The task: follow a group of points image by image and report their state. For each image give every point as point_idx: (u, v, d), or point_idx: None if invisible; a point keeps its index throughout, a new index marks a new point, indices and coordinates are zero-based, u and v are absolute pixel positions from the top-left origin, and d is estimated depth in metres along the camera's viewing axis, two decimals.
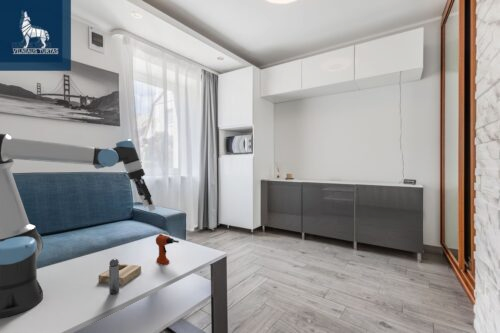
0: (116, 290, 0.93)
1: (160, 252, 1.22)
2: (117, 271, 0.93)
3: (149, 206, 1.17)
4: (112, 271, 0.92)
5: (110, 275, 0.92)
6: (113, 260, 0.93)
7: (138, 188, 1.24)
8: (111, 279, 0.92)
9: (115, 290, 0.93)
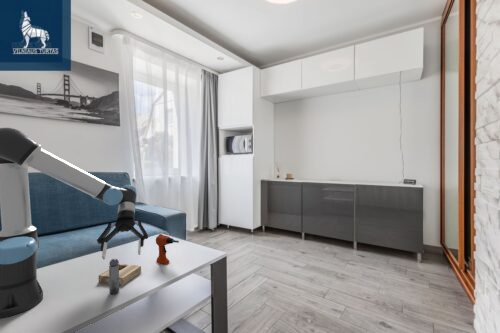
0: (116, 290, 0.93)
1: (160, 252, 1.22)
2: (117, 271, 0.93)
3: (140, 247, 1.05)
4: (112, 271, 0.92)
5: (110, 275, 0.92)
6: (113, 260, 0.93)
7: (115, 231, 1.07)
8: (111, 279, 0.92)
9: (115, 290, 0.93)
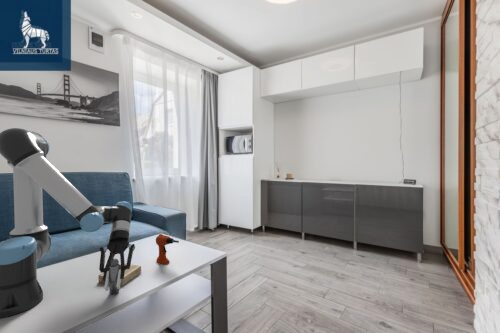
0: (116, 290, 0.93)
1: (160, 252, 1.22)
2: (117, 271, 0.93)
3: (119, 280, 0.92)
4: (112, 271, 0.92)
5: (110, 275, 0.92)
6: (113, 260, 0.93)
7: (112, 255, 0.97)
8: (111, 279, 0.92)
9: (115, 290, 0.93)
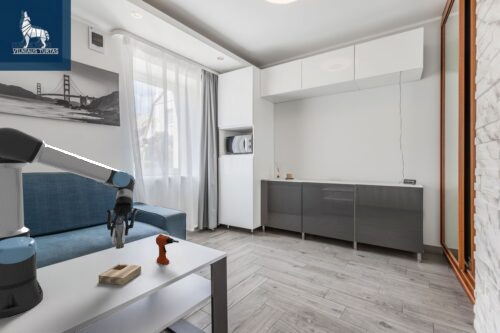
0: (121, 245, 1.09)
1: (160, 252, 1.22)
2: (122, 228, 1.09)
3: (124, 236, 1.08)
4: (118, 228, 1.08)
5: (116, 231, 1.08)
6: (119, 219, 1.09)
7: (118, 216, 1.13)
8: (117, 235, 1.08)
9: (121, 245, 1.09)
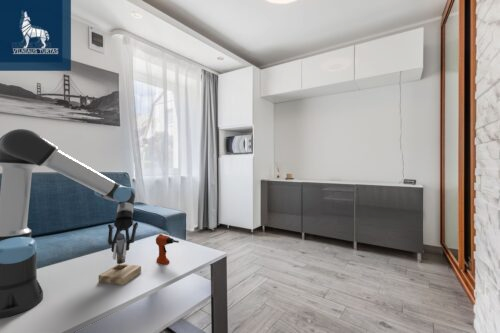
0: (122, 260, 1.09)
1: (160, 252, 1.22)
2: (123, 244, 1.10)
3: (125, 251, 1.08)
4: (119, 243, 1.08)
5: (117, 247, 1.09)
6: (120, 234, 1.09)
7: (119, 231, 1.14)
8: (118, 250, 1.08)
9: (122, 260, 1.09)
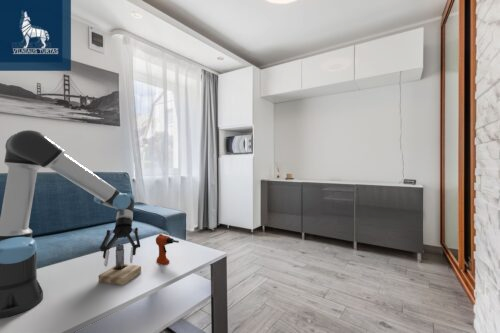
0: None
1: (160, 252, 1.22)
2: (122, 254, 1.09)
3: (132, 256, 1.10)
4: (118, 254, 1.08)
5: (116, 257, 1.08)
6: (119, 245, 1.09)
7: (115, 238, 1.13)
8: (117, 261, 1.08)
9: None
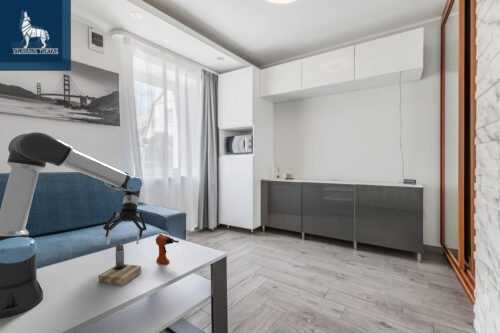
0: None
1: (160, 252, 1.22)
2: (122, 254, 1.09)
3: (138, 238, 1.22)
4: (118, 254, 1.08)
5: (116, 257, 1.08)
6: (119, 245, 1.09)
7: (119, 221, 1.24)
8: (117, 261, 1.08)
9: None
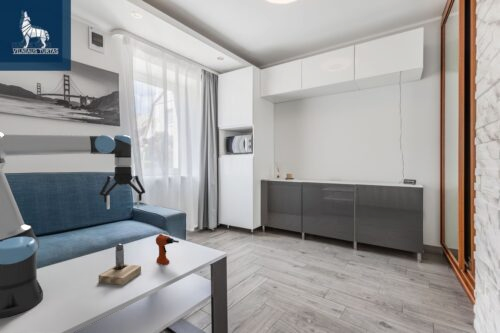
0: None
1: (160, 252, 1.22)
2: (122, 254, 1.09)
3: (138, 202, 1.22)
4: (118, 254, 1.08)
5: (116, 257, 1.08)
6: (119, 245, 1.09)
7: (115, 186, 1.18)
8: (117, 261, 1.08)
9: None
